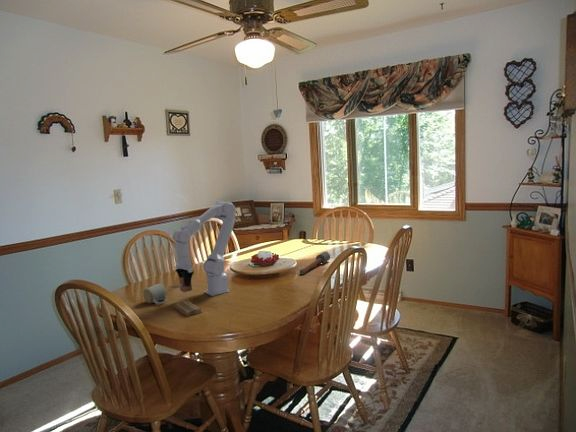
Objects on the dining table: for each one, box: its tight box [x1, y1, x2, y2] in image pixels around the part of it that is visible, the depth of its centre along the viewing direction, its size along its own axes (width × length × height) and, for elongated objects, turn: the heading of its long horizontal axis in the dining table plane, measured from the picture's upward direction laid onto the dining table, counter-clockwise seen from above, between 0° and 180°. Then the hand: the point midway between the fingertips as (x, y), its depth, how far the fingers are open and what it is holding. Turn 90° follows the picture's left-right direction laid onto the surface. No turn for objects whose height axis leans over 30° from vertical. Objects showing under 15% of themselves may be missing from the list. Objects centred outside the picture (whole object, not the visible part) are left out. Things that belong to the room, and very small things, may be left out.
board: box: [173, 300, 202, 317], centre depth 186 cm, size 6×14×2 cm, turn 36°
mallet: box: [299, 251, 331, 275], centre depth 243 cm, size 6×6×30 cm
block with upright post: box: [167, 277, 193, 293], centre depth 196 cm, size 10×4×6 cm, turn 126°
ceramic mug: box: [142, 282, 168, 306], centre depth 198 cm, size 11×8×8 cm
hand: (185, 284), depth 198 cm, fingers closed on block with upright post, 4 cm apart
